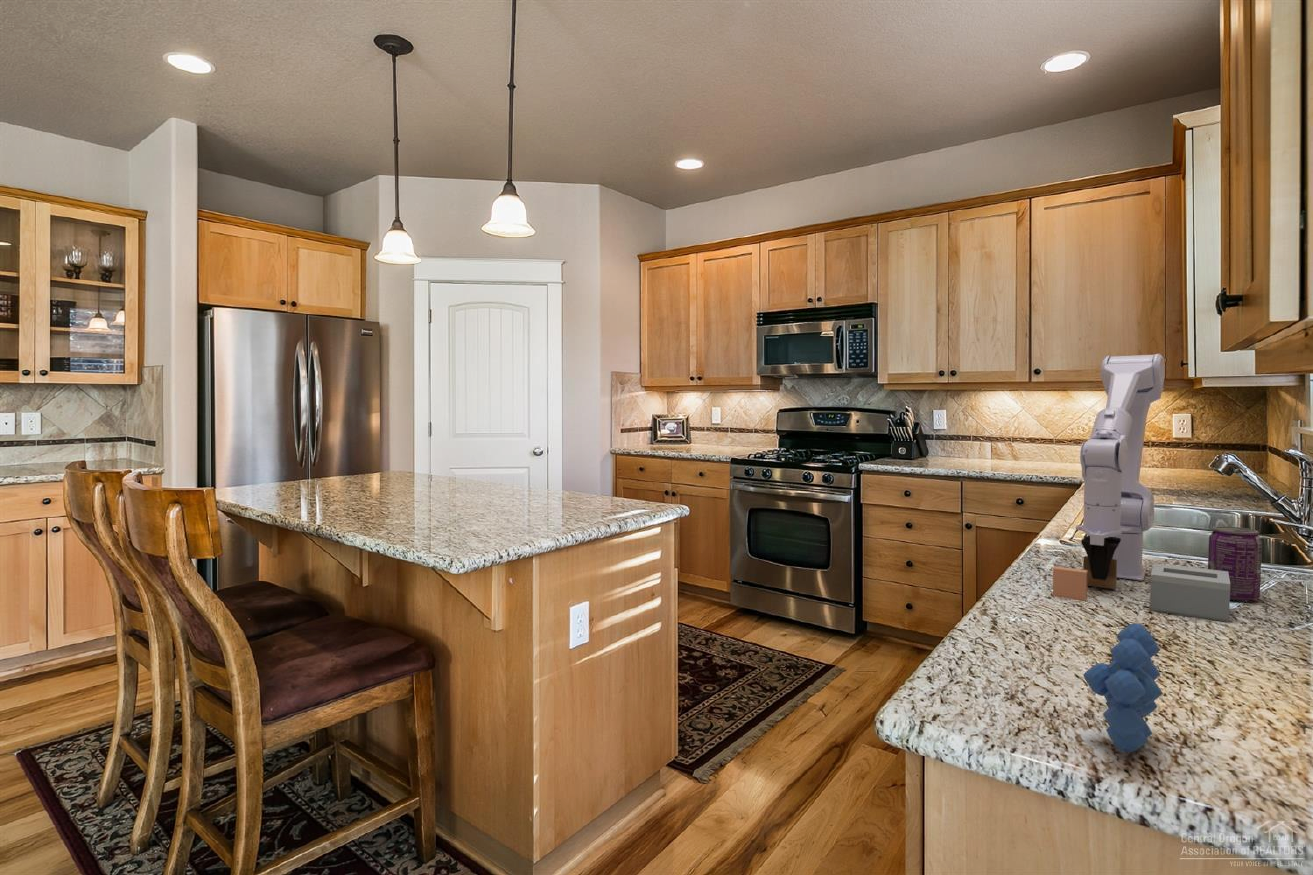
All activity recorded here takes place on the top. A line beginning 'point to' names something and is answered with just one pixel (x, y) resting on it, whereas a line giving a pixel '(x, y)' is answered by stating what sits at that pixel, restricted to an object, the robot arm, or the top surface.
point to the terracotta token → (1070, 583)
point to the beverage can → (1237, 559)
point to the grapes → (1128, 687)
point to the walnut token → (1110, 579)
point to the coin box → (1190, 592)
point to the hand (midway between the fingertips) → (1100, 577)
